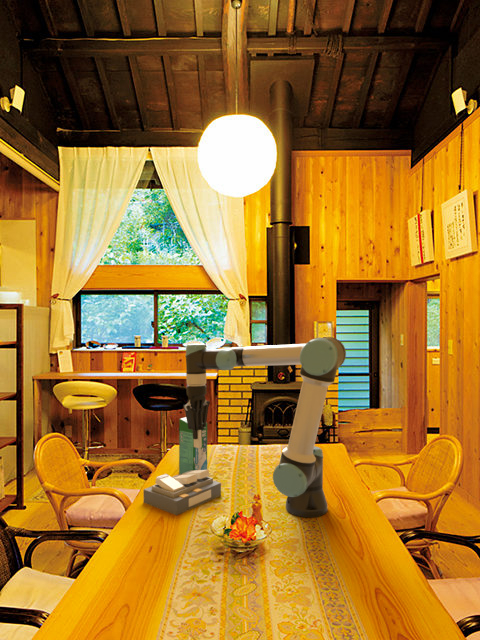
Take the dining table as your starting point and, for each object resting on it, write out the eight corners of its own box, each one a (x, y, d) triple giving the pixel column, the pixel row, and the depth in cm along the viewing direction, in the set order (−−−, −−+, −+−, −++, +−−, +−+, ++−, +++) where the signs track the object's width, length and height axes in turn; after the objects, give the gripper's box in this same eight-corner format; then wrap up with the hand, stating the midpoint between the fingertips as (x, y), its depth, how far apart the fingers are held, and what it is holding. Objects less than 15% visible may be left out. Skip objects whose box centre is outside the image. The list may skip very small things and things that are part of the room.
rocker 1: (182, 491, 175) (184, 485, 174) (173, 495, 171) (174, 489, 170) (165, 479, 181) (166, 473, 180) (155, 482, 177) (156, 476, 176)
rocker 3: (209, 475, 185) (208, 469, 186) (200, 479, 181) (199, 472, 182) (191, 476, 191) (190, 470, 192) (183, 479, 187) (182, 473, 188)
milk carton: (193, 478, 205) (193, 421, 205) (178, 473, 210) (179, 418, 210) (207, 472, 212) (207, 417, 212) (192, 468, 217) (192, 415, 217)
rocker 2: (197, 480, 180) (196, 473, 180) (187, 484, 176) (186, 477, 176) (179, 481, 186) (178, 474, 186) (170, 484, 182) (169, 477, 182)
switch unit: (221, 495, 185) (221, 478, 185) (176, 515, 166) (177, 496, 166) (188, 485, 196) (188, 469, 196) (143, 502, 177) (143, 485, 177)
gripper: (200, 382, 184) (201, 442, 184) (177, 386, 174) (178, 449, 174) (215, 383, 180) (216, 444, 180) (192, 387, 170) (193, 452, 169)
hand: (197, 447), depth 177 cm, fingers closed
